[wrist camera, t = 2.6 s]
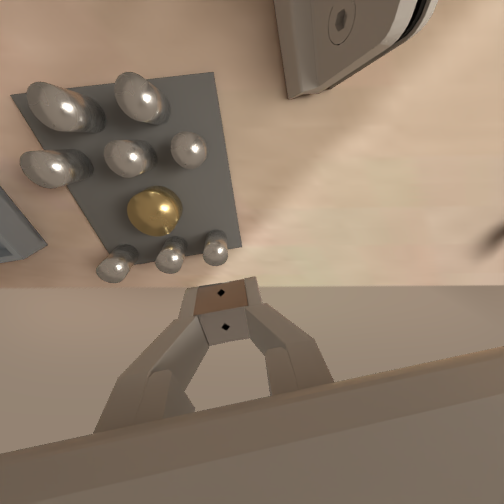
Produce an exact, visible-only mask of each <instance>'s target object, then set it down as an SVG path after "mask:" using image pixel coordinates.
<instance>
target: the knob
mask: <svg viewBox="0 0 504 504" xmlns="http://www.w3.org/2000/svg"><path fill="white" fill-rule="evenodd" d="M182 211H183V207H182V203H181V200H180V199H179V197H178V196H177V195H176V194H175V193H174V192H173V191H172V190H170V189H168V188H166V187H163V186H151V187H149V188H147V189H145V190H143V191H142V192H140V193H138V194H136V195H135V196H133V197H132V198H131V199H130V201H129V203H128V206H127V214H128V217H129V220H130V221H131V223H132V224H133V226H134V227H135V228H137V229H138V230H139V231H141V232H142V233H144V234H147V235H150V236H164V235H167V234H169V233H170V232H171V231H172V230H173V229H174V228H175V226H176V224H177V223H178V221H179V219H180V217H181V215H182Z"/></svg>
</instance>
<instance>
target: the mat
mask: <svg viewBox="0 0 504 504" xmlns="http://www.w3.org/2000/svg"><path fill="white" fill-rule="evenodd" d="M146 80H147V81H148V82H150V83H151V84H152V85H153V86H155V87H156V88H157V89H159V90H160V91H161V92H162V93H163V94H164V95H165V96H166V98H167V99H168V101H169V104H170V110H171V112H170V117H169V119H168V121H167V122H166V123H164V124H161V125H156V124H151V123H146V122H141V121H137V120H134V119H132V118H130V117H129V116H128V115H126V114H125V113H124V112H123V110H122V109H121V108H120V106H119V105H118V103H117V100H116V97H115V92H114V86H115V83H111V84H102V85H93V86H84V87H76V88H67V90H70V91H74V92H77V93H80V94H83V95H86V96H89V97H91V98H93V99H94V100H95V101H96V102H97V103H98V104H99V105H100V106H101V107H102V109H103V111H104V113H105V115H106V127H105V128H104V130H103V131H101V132H98V133H90V132H67V131H57V130H54V129H51V128H49V127H47V126H46V125H44V124H43V123H42V122H41V121H40V120H39V119H38V118H37V117H36V116H35V115H34V114H33V112H32V111H31V109H30V107H29V104H28V101H27V93H23V94H14V95H10V96H11V97H12V99H13V101H14V102H15V104H16V105H17V107H18V109H19V110H20V112H21V113H22V115H23V117H24V118H25V120H26V121H27V123H28V125H29V126H30V128H31V129H32V131H33V133H34V134H35V136H36V137H37V139H38V141H39V142H40V144H41V145H42V147H43V149H44V150H58V149H76V150H78V151H81V152H82V153H84V154H85V155H86V156H87V157H88V158H89V159H90V161H91V162H92V164H93V168H94V172H93V175H92V176H91V177H90V178H88V179H84V180H81V181H78V182H74V183H71V184H67V187H68V189H69V190H70V192H71V193H72V195H73V197H74V198H75V200H76V201H77V203H78V205H79V206H80V208H81V209H82V211H83V213H84V214H85V216H86V217H87V219H88V221H89V222H90V224H91V225H92V227H93V229H94V230H95V232H96V233H97V235H98V237H99V238H100V240H101V241H102V243H103V245H104V246H105V248H106V249H107V251H108V253H109V254H110V253H111V252H112V251H113V250H114V249H115V248H116V247H117V246H119V245H121V244H128V245H131V246H133V247H134V248H136V249H137V251H138V252H139V258H138V259H137V261H136V262H135V264H134V265H136V264H142V263H148V262H154V261H155V260H156V258H157V256H158V255H159V253H160V251H161V249H162V247H163V246H164V244H165V242H166V240H167V239H168V238H169V237H172V236H178V237H181V238H183V239H184V240H185V241H186V242H187V246H188V247H187V251H186V254H185V256H191V255H197V254H203V252H204V246H205V241H206V236H207V234H208V233H209V232H210V231H212V230H221V231H223V232H224V233H225V234H226V236H227V249H233V248H239V247H242V243H241V237H240V231H239V225H238V219H237V213H236V207H235V201H234V194H233V188H232V182H231V176H230V170H229V164H228V158H227V152H226V146H225V139H224V133H223V127H222V121H221V115H220V109H219V103H218V97H217V90H216V84H215V78H214V72H208V73H199V74H190V75H182V76H173V77H164V78H155V79H146ZM184 131H186V132H192V133H197V134H199V135H200V136H202V137H203V138H204V139H205V141H206V143H207V145H208V156H207V158H206V159H205V160H204V162H203V163H202V164H201V165H200V166H199V167H197V168H194V169H187V168H184V167H182V166H180V165H179V164H178V163H177V162H176V161H175V160H174V158H173V156H172V154H171V141H172V139H173V137H174V136H175V135H176V134H177V133H179V132H184ZM114 140H142V141H145V142H147V143H148V144H150V145H151V146H152V148H153V149H154V150H155V152H156V155H157V163H156V165H155V167H154V168H153V169H151V170H149V171H146V172H144V173H142V174H139V175H137V176H135V177H131V178H126V177H122V176H120V175H118V174H116V173H115V172H113V171H112V170H111V169H110V168H109V166H108V165H107V163H106V161H105V158H104V149H105V146H106V145H107V144H108V143H109V142H111V141H114ZM151 186H163V187H166V188H168V189H170V190H172V191H173V192H174V193H175V194H176V195H177V196H178V197H179V199H180V200H181V203H182V207H183V211H182V215H181V217H180V219H179V221H178V223H177V224H176V226H175V228H174V229H173V230H172V231H171V232H170V233H169V234H167V235H164V236H150V235H147V234H144V233H142V232H141V231H139V230H138V229H137V228H135V227H134V226H133V224H132V223H131V221H130V220H129V217H128V214H127V206H128V203H129V201H130V199H131V198H132V197H133V196H135V195H136V194H138V193H140V192H142V191H143V190H145V189H147V188H149V187H151Z"/></svg>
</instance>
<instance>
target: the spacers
mask: <svg viewBox="0 0 504 504" xmlns="http://www.w3.org/2000/svg"><path fill="white" fill-rule="evenodd" d="M114 92H115V97H116V100H117V103H118V105H119V106H120V108H121V109H122V110H123V112H124V113H125V114H126V115H128V116H129V117H130V118H132V119H134V120H137V121H141V122H146V123H151V124H156V125H161V124H164V123H166V122H167V121H168V119H169V117H170V112H171V110H170V104H169V101H168V99H167V98H166V96H165V95H164V94H163V93H162V92H161V91H160V90H159V89H157V88H156V87H155V86H153V85H152V84H151V83H150V82H148V81H147V80H146V79H144V78H143V77H142V76H140V75H138V74H136V73H133V72H125V73H122V74H121V75H119V76H118V78H117V79H116V81H115V86H114ZM27 101H28V104H29V107H30V109H31V111H32V112H33V114H34V115H35V116H36V117H37V118H38V119H39V120H40V121H41V122H42V123H43V124H44V125H46V126H47V127H49V128H51V129H54V130H57V131H67V132H90V133H98V132H101V131H103V130H104V128H105V127H106V115H105V113H104V111H103V109H102V107H101V106H100V105H99V104H98V103H97V102H96V101H95V100H94V99H93V98H91V97H89V96H86V95H83V94H80V93H77V92H74V91H70V90H67V89H64V88H61V87H58V86H54V85H51V84H48V83H44V82H35V83H33V84H31V85H30V86H29V88H28V90H27ZM171 154H172V156H173V158H174V160H175V161H176V162H177V163H178V164H179V165H180V166H182V167H184V168H187V169H194V168H197V167H199V166H200V165H201V164H202V163H203V162H204V160H205V159H206V158H207V156H208V145H207V143H206V141H205V139H204V138H203V137H202V136H200V135H199V134H197V133H192V132H186V131H184V132H179V133H177V134H176V135H175V136H174V137H173V139H172V141H171ZM104 158H105V161H106V163H107V165H108V166H109V168H110V169H111V170H112V171H113V172H115V173H116V174H118V175H120V176H122V177H126V178H131V177H135V176H137V175H139V174H142V173H144V172H146V171H149V170H151V169H153V168H154V167H155V165H156V163H157V155H156V152H155V150H154V149H153V148H152V146H151V145H150V144H148V143H147V142H145V141H142V140H114V141H111V142H109V143H108V144H107V145H106V146H105V149H104ZM20 166H21V168H22V170H23V172H24V173H25V175H26V176H27V177H28V178H29V179H30V180H31V181H33V182H34V183H36V184H37V185H39V186H42V187H45V188H57V187H61V186H64V185H67V184H71V183H74V182H78V181H81V180H84V179H88V178H90V177H91V176H92V175H93V172H94V168H93V164H92V162H91V161H90V159H89V158H88V157H87V156H86V155H85V154H84V153H82V152H81V151H78V150H76V149H58V150H43V151H29V152H25V153H24V154H23V155H22V156H21V158H20ZM187 247H188V246H187V242H186V241H185V240H184V239H183V238H181V237H178V236H172V237H169V238H168V239H167V240H166V242H165V244H164V246H163V247H162V249H161V251H160V253H159V255H158V256H157V258H156V260H155V264H156V267H157V268H158V269H159V270H160V271H162V272H164V273H168V274H172V273H176V272H178V271H179V270H180V268H181V266H182V263H183V260H184V257H185V254H186V251H187ZM227 257H228V251H227V236H226V234H225V233H224V232H223V231H221V230H212V231H210V232H209V233H208V234H207V236H206V241H205V246H204V252H203V258H204V260H205V262H206V263H207V264H209V265H212V266H219V265H222V264H224V263H225V262H226V260H227ZM138 258H139V252H138V251H137V249H136V248H134V247H133V246H131V245H128V244H121V245H119V246H117V247H116V248H115V249H114V250H113V251H112V252H111V253H110V254H109V255H108V256H107V257H106V259H105V260H104V261H103V262H102V263H101V264H100V265H99V266H98V267H97V268H96V273H97V275H98V277H99V278H101V279H102V280H104V281H106V282H109V283H118V282H121V281H122V280H123V279H124V278H125V276H126V275H127V274H128V272H129V271H130V269H131V268H132V266H133V265H134V264H135V262H136V261H137V259H138Z"/></svg>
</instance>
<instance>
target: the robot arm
mask: <svg viewBox="0 0 504 504" xmlns="http://www.w3.org/2000/svg"><path fill="white" fill-rule="evenodd" d="M244 281H245V282H244ZM247 338H250V339H251V340H252V341H253V343H254V344H255V345H256V346H257V347H258V349H259V350H260V351H261V352H262V353H263V355H264V356H265V360H266V367H267V376H268V383H269V391H270V396H268V397H263V398H258V399H254V400H249V401H244V402H240V403H235V404H231V405H226V406H221V407H216V408H212V409H207V410H202V411H198V412H195V407H194V406H193V404H192V403H191V401H190V400H189V398H188V397H187V395H186V393H185V392H184V391H185V389H186V388H187V386H188V384H189V383H190V381H191V379H192V377H193V375H194V374H195V372H196V370H197V368H198V367H199V365H200V363H201V361H202V359H203V357H204V356H205V354H206V352H207V350H208V349H209V346H211V345H216V344H221V343H225V342H229V341H235V340H241V339H247ZM0 504H504V346H501V347H497V348H492V349H487V350H482V351H478V352H473V353H468V354H464V355H459V356H455V357H450V358H446V359H441V360H436V361H431V362H427V363H422V364H417V365H413V366H408V367H404V368H399V369H394V370H389V371H385V372H380V373H375V374H371V375H366V376H361V377H357V378H352V379H347V380H342V381H338V382H334V381H333V378H332V376H331V374H330V372H329V369H328V368H327V365H326V363H325V361H324V359H323V357H322V355H321V352H320V350H319V348H318V346H317V344H316V342H315V340H314V339H313V338H312V337H311V336H309V335H308V334H307V333H305V332H304V331H303V330H301V329H300V328H299V327H298V326H296V325H295V324H294V323H292V322H291V321H290V320H288V319H287V318H286V317H284V316H283V315H282V314H280V313H279V312H278V311H276V310H275V309H274V308H272V307H271V306H270V305H269V304H267V303H262V299H261V295H260V291H259V287H258V283H257V279H256V277H250V278H245V279H241V280H235V281H230V282H224V283H218V284H211V285H204V286H199V287H193V288H187V289H186V291H185V294H184V298H183V301H182V306H181V309H180V313H179V317H178V319H176V320H173V322H172V323H171V324H170V325H169V326H168V327H167V328H166V329H165V330H164V331H163V332H162V333H161V334H160V335H159V336H158V337H157V338H156V339H155V340H154V341H153V342H152V343H151V344H150V345H149V346H148V347H147V348H146V349H145V350H144V351H143V353H142V354H141V355H140V356H139V357H138V358H137V359H136V360H135V361H134V362H133V363H132V364H131V365H130V366H129V367H128V368H127V369H126V370H125V371H124V372H123V373H122V374H121V375H120V376H119V377H118V379H117V381H116V383H115V386H114V388H113V390H112V392H111V394H110V397H109V399H108V401H107V404H106V406H105V408H104V410H103V412H102V415H101V417H100V419H99V421H98V423H97V426H96V428H95V430H94V432H93V434H90V435H86V436H81V437H76V438H72V439H67V440H62V441H58V442H53V443H48V444H44V445H39V446H34V447H30V448H25V449H20V450H16V451H11V452H6V453H2V454H0Z"/></svg>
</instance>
